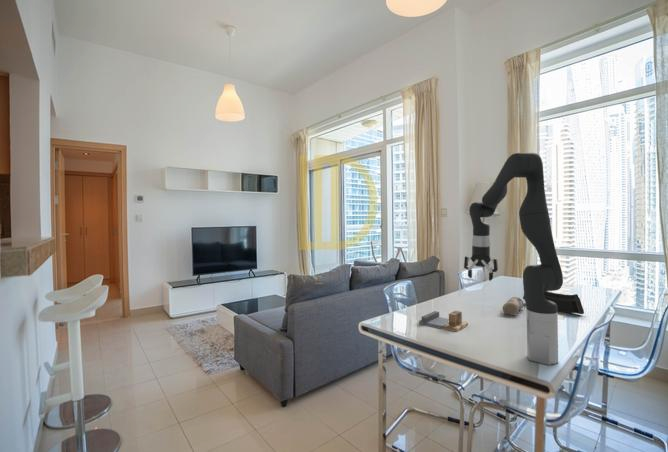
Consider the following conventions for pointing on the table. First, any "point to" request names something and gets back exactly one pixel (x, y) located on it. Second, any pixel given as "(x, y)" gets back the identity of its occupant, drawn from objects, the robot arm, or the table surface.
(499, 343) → the table surface
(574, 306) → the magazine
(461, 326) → the stub
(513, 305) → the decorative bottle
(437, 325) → the board
